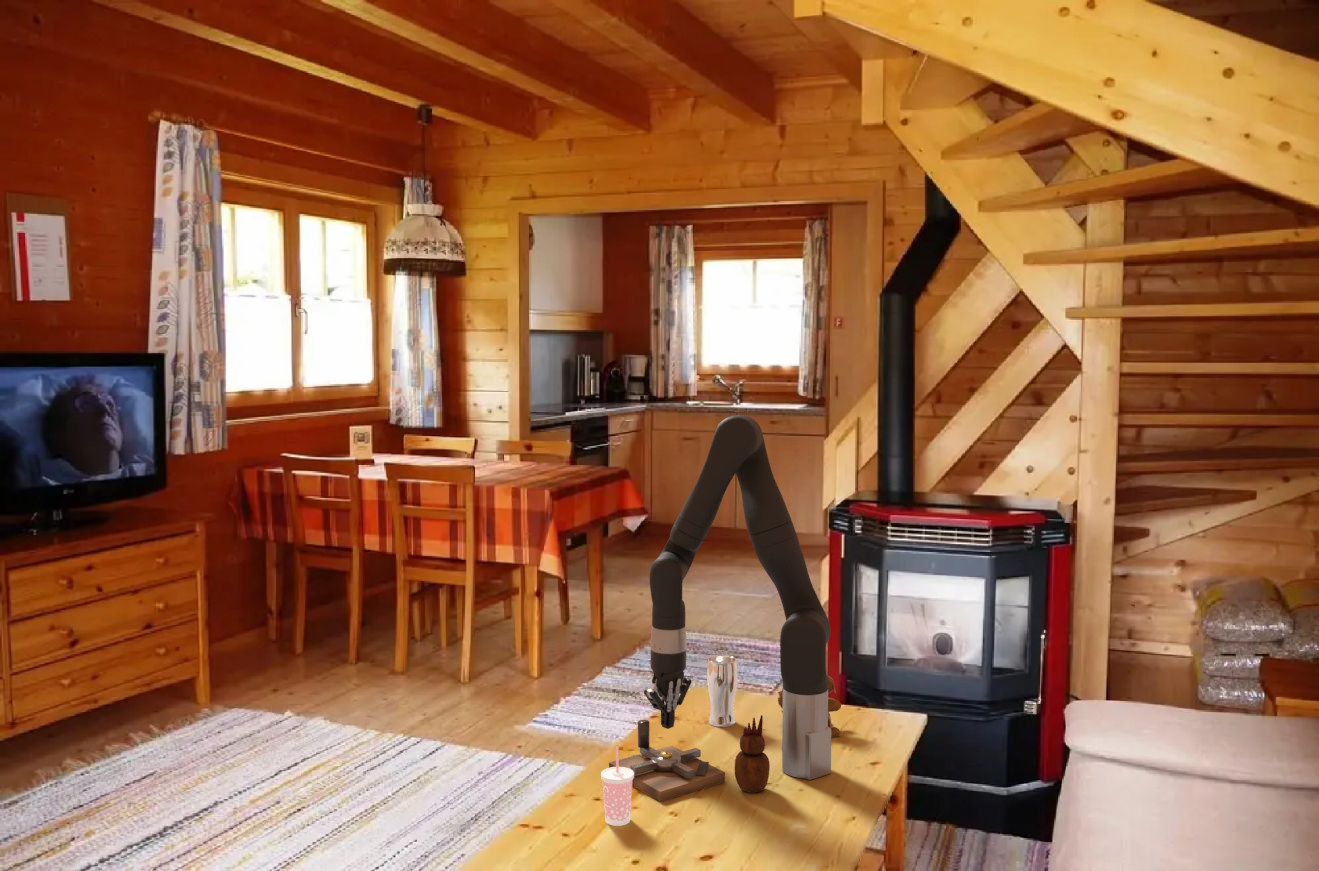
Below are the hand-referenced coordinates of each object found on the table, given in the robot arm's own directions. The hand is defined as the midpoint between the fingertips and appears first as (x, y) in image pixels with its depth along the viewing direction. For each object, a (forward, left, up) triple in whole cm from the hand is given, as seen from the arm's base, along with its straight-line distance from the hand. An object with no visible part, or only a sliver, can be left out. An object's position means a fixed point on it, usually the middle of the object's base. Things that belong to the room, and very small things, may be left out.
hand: (667, 727), depth 230 cm
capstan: (-8, +6, -4) cm, 11 cm away
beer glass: (+10, -23, -7) cm, 26 cm away
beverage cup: (-19, +25, -7) cm, 33 cm away
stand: (-8, +6, -7) cm, 12 cm away
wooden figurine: (-23, -4, -7) cm, 25 cm away
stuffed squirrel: (-6, -36, -7) cm, 37 cm away
